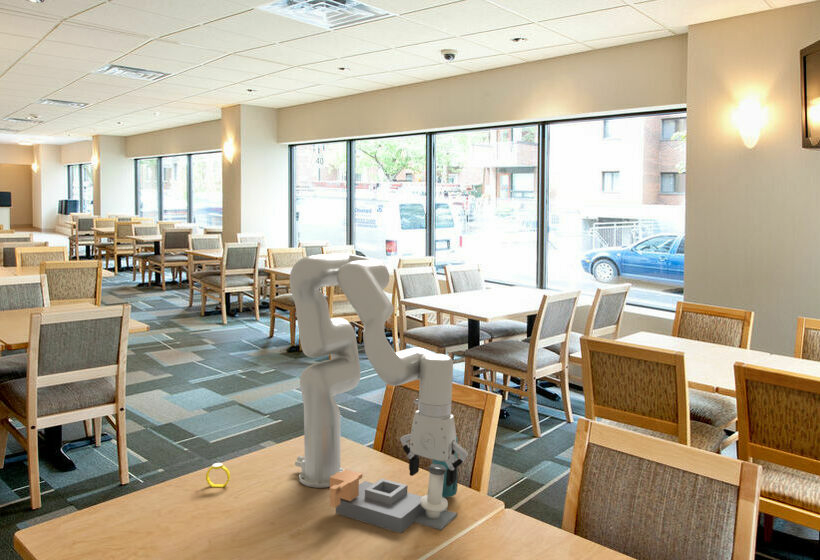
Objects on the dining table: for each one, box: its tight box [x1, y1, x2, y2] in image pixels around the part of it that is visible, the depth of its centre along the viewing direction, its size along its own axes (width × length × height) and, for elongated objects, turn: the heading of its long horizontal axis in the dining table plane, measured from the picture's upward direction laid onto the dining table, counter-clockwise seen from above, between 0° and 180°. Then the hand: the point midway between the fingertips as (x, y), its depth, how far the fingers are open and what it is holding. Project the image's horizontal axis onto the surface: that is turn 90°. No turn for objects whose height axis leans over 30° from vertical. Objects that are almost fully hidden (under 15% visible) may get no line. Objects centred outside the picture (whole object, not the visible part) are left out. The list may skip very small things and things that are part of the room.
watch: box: [205, 462, 231, 488], centre depth 165 cm, size 6×3×6 cm, turn 89°
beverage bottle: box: [431, 435, 459, 498], centre depth 159 cm, size 6×7×20 cm
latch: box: [329, 469, 363, 509], centre depth 150 cm, size 6×11×5 cm, turn 150°
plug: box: [420, 463, 449, 519], centre depth 148 cm, size 6×6×12 cm
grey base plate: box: [335, 478, 426, 534], centre depth 151 cm, size 18×12×6 cm, turn 60°
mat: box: [414, 509, 458, 531], centre depth 149 cm, size 8×8×1 cm
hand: (432, 478), depth 149 cm, fingers open, 9 cm apart
